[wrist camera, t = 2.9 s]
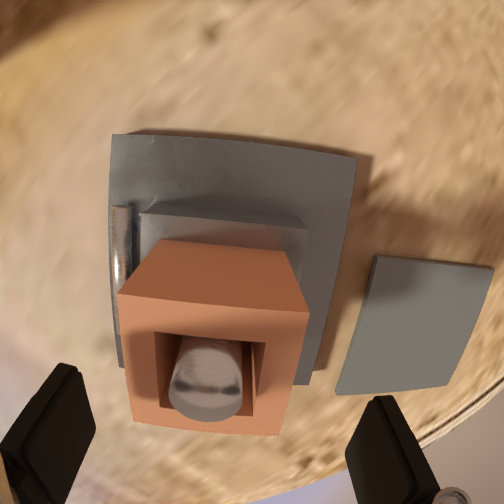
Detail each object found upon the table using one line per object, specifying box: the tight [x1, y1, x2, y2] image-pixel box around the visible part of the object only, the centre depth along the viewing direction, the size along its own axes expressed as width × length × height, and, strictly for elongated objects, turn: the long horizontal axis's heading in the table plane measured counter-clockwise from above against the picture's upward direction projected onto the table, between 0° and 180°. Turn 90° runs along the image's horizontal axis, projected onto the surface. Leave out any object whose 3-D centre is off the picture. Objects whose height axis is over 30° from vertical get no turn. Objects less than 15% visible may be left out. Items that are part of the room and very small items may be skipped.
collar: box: [117, 239, 310, 436], centre depth 13 cm, size 6×6×6 cm
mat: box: [335, 255, 494, 395], centre depth 22 cm, size 12×12×1 cm
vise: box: [108, 134, 358, 422], centre depth 15 cm, size 16×14×12 cm
